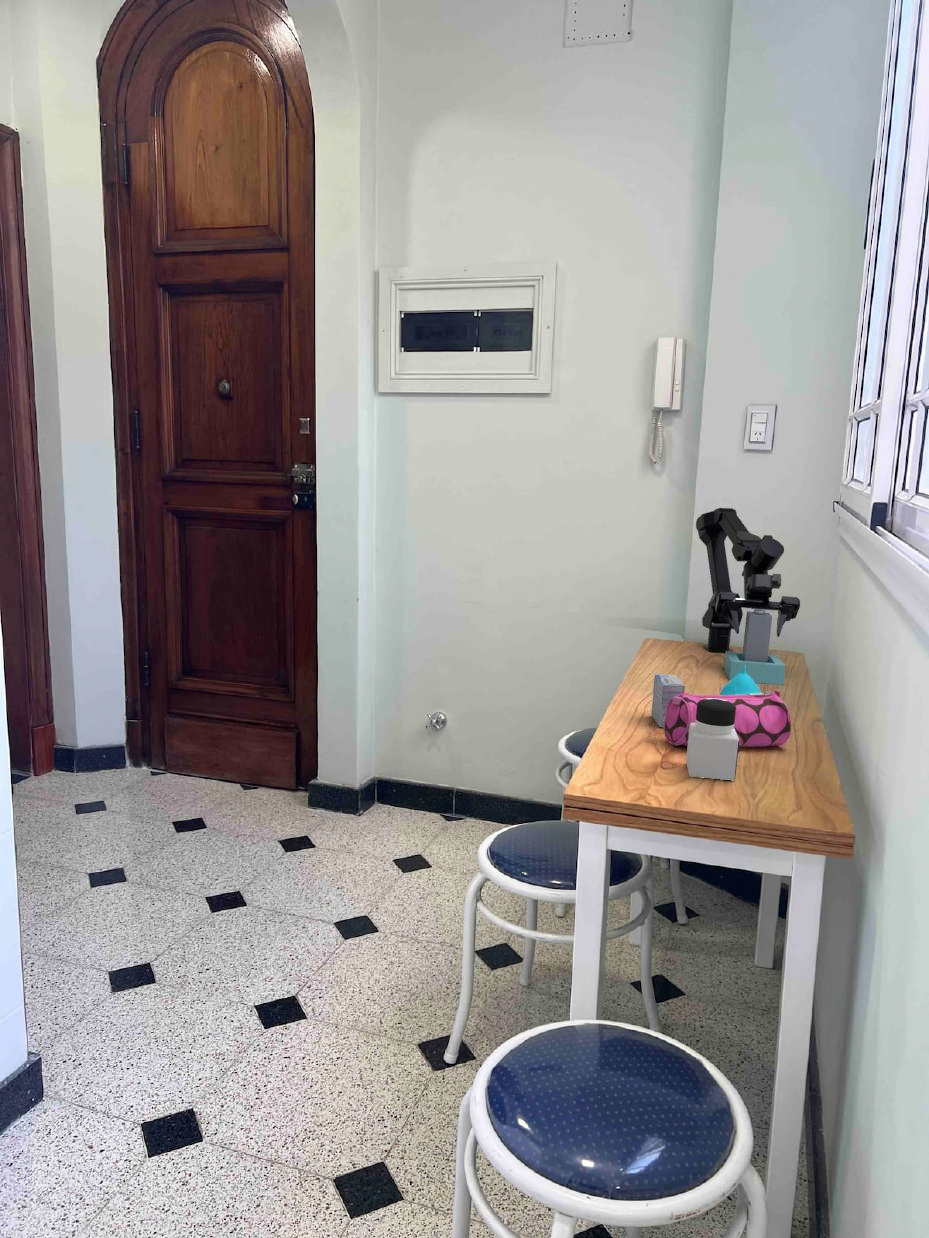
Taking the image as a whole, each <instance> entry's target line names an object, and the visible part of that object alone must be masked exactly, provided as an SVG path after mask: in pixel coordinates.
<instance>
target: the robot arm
mask: <svg viewBox="0 0 929 1238" xmlns="http://www.w3.org/2000/svg"><path fill="white" fill-rule="evenodd" d="M695 528H696V531H697V534H698V538H699V540H700V541H701V542H702V543H703V544H704V545H705V546H706V553H707V560H708V561H707V562H708V568H709V573H710V574H709V575H710V583H711V584H710V585H711V588H712V589H711V590H712V595H711V598H710V599H709V602H708V604H707V607H708V608H707V610H706V611H705V612H704V614H703V616H702V618H701V623H702V627H703V628H707V629H708V639H707V644H704V645H703V648H704V649H706V650H707V651H708V652H711V653H713V652H715V653H725V652H726V651H733V652H734V650H733V649H732V648H730V644H731V637H732V636H731V635H732V630H734V632H735V634H740V626H741V624H742V623H741V622H742V619H743V616H744V613H743V609H742V608H744V609H752V610H764V611H774V612H775V611H776V612H777V618H776V636H777V638H779V637H780V635H781V632H782V630H783V626H784V625H785V623H786V622H789V621H791V620H794V619H796V618H797V615H798V613H799V610H800V607H801V600H800V599H799V597H797V596H787V595H786V596H785V595H782V596H781V598H780V600H779V601H773V600H772V601H770V598H772V595H773V591H772V590H773V589H775V590H777V589H778V590H779V589H780V588H781V586H782V574H780V573H772V574H769V571H770V570H773V569H774V568H775V566H776V565H777V563H778V561H779V560H780V558H782V557H783V554H784V553H785V547H784V545H783V544H782V543H781V542H780V541H778V540H777V539H775V538H773V535H772V534H771V535H770V534H769V535H768V534H764V535H762V538H761V537H760V536H758V535H755V534H753V533H751V531H749V530H748V528H747V526H745V524H744V523H743V521H742V520H741V518H739V516H738V512H737V510H736V509H734V508H733V507H718V508H716V509H714V510H711V511H708V512H704V513H702V514H701V515H700V516H698V517H697V519H696V521H695ZM727 538H728V539H729V540H730V542H731V543H732V547H731V553H732V556H733V557H734V560H735V561H736V562H740V563H741V562H745V563H744V565H743V566H742V567H743V570H742V571H741V572H742V573H741V576H742V577H743V596H744V598H741V596H740V595H739V593H736V592H733V591H732V586H731V581H730V574H729V573H730V571H729V565H728V559H727V558H728V557H727V552H726V551H727V550H726V545H725V543H726V542H725V541H726V539H727Z"/></svg>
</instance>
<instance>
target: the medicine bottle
mask: <svg viewBox="0 0 929 1238" xmlns="http://www.w3.org/2000/svg"><path fill="white" fill-rule="evenodd" d="M735 714H736V707H735V705H734V704H733V703H731V702H729V701H727V700H723V699H717V698H706V699H703V700H700V701H699V702H698V703H697V710H696V721H695V723H690V726H689V737H688V746H686V747H687V748H686V749H687V750H686V757H685V758H686V759H685V760H686V761H685V763H686V766H687V772H688V776H689V777H690V778H693V777H704V778H714V779H720V780H719V781H723V780H731V781H730V782H735V780H736V776H737V765H738V756H739V750H740V749H739V738H738V736H737V733H736V731H735V729H734V724H735Z"/></svg>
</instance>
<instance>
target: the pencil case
mask: <svg viewBox="0 0 929 1238" xmlns="http://www.w3.org/2000/svg"><path fill="white" fill-rule="evenodd" d="M781 693H782V692H781V691H780V690H779V689H774V693H772V692H770V691H768V690H767V691H765V692H764V693H763V692H761V693H749V695H744V694H741V695H720V694H710V695H709V694H705V695H704V694H690V693H688V692H687V693H686V692H685V693H682V694H679V695H677V696H675V697H673V698H672V699H671V700H670V701H669V703H668V706H667V711H666V718H665V724H664V728H663V729H664V730H663V732H664V733H663V734H664V737H665V740H667V742H668V743H670V744H671V745H672V746H674V747H678V746H682V747H683V746H685V747H688V737H689V726H690V723H695V721H696V710H697V703H698V702H699V701H700V700H703V699H706V698H717V699H723V700H727V701H729V702H731V703H733V704H734V705H735V707H736V714H735V724H734V729H735V731H736V733H737V736H738V738H739V747H740V748H741V747H750V748H762V747H769V746H771V747H780V746H783V745H785V744H786V743H787V741H788V740H789V739H790V736H791V733H792V719H791V717H792V716H791V712H790V709H789V707H788V705H787V703H786V702H785V701H783V700H782V699H781V696H782V695H781Z"/></svg>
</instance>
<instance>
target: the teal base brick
mask: <svg viewBox="0 0 929 1238" xmlns="http://www.w3.org/2000/svg"><path fill="white" fill-rule="evenodd" d="M724 653H725V654H724V666H723V671H724V672H725V671H726V672H725V674H726V676H727V678H728V680H729V681H730V680H732V679H733V678H734V677H735V676H736V675H737V674H739V673H742V672H743V669H744V665H745V666H746V674H748V675H749V676H750V677H751V678H752V679H753V681H754V682H756V684H768V685H778V686H779V685H780V686H781V685H782V686H784V684H785V683H784V682H785V675H786V674H785V673H786V664H785V663H784V662H783V661H782V659H781V658H780V657H779V656H778V654H769V653H768V659H767V663H765V662H752V661H742V653H743V651H734V650H733V651H726V652H724Z"/></svg>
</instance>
